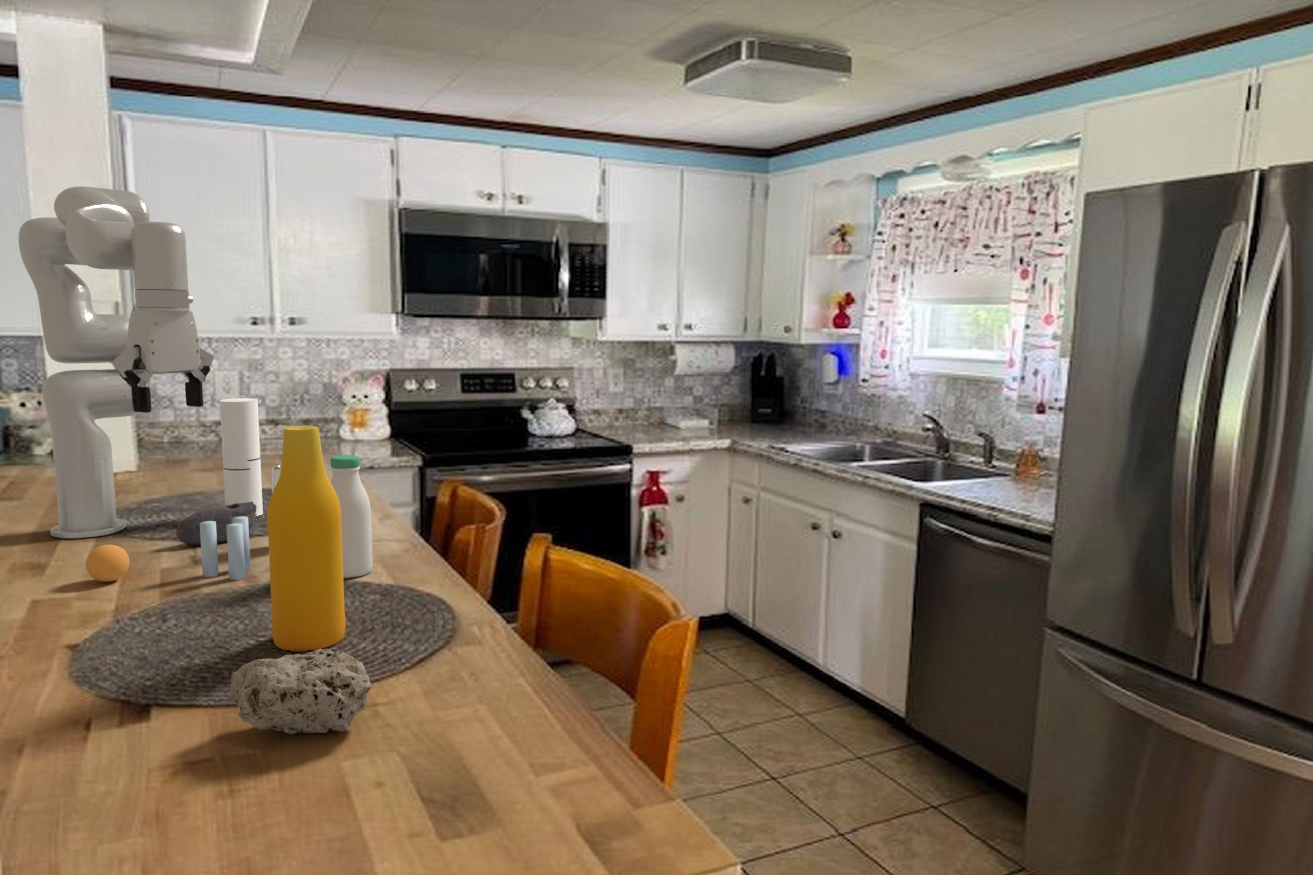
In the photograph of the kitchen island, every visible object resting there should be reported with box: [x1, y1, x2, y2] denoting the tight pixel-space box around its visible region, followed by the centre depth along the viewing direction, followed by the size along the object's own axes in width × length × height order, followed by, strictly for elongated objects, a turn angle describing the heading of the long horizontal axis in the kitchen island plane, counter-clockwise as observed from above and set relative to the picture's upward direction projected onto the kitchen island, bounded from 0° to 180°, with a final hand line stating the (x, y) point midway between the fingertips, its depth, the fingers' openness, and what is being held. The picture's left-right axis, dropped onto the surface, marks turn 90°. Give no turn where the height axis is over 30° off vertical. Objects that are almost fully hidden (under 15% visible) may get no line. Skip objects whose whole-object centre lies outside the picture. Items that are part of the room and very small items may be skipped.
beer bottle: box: [266, 425, 347, 652], centre depth 118 cm, size 9×9×29 cm
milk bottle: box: [330, 454, 374, 579], centre depth 149 cm, size 8×8×20 cm
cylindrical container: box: [219, 397, 264, 516], centre depth 186 cm, size 7×7×25 cm
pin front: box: [200, 521, 220, 578], centre depth 146 cm, size 2×2×9 cm
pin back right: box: [232, 516, 252, 572], centre depth 150 cm, size 2×2×9 cm
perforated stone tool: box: [175, 502, 257, 546], centre depth 168 cm, size 15×5×7 cm, turn 133°
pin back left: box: [226, 523, 246, 581], centre depth 145 cm, size 2×2×9 cm
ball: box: [85, 544, 131, 583], centre depth 143 cm, size 6×6×6 cm
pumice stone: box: [228, 648, 373, 735], centre depth 95 cm, size 14×12×8 cm
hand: (169, 409), depth 143 cm, fingers open, 9 cm apart
